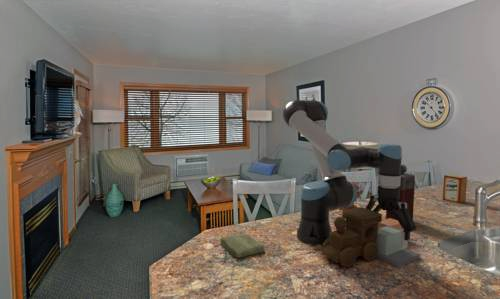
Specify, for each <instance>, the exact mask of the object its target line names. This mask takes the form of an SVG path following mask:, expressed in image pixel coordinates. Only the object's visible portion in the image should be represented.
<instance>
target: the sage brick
mask: <svg viewBox="0 0 500 299" xmlns="http://www.w3.org/2000/svg"><path fill="white" fill-rule="evenodd" d="M401 232H402V231H400V230H397V229H394V228H391V227H388V226H386V227H382V228H379V229H378V234H377V239H376V243H377V247H378V251H379V252H381V253H383V254H389V253H392V252H394V251H397V250H400V249H401Z"/></svg>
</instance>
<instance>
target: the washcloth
mask: <svg viewBox="0 0 500 299" xmlns="http://www.w3.org/2000/svg"><path fill="white" fill-rule="evenodd" d="M220 245H221V246H223V247H224V249H226V251H228V252H230V254H231V255H233V257H236V259H240V258H245V257H250V256H252V255H258V254H262V253H264V252H265V251H266V250H265V246H264V244H262V243H261V242H259V241H257V239H255V238H253V237H252V236H251V235H250V234H247V233H240V234H232V235H229V236H222V237H221V238H220Z"/></svg>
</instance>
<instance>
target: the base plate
mask: <svg viewBox="0 0 500 299" xmlns="http://www.w3.org/2000/svg"><path fill="white" fill-rule="evenodd" d="M375 258H377V259H379V260H381V259H382V260H381V261H383V260H384V262H386V263H388V264H390V263H391V265H392V264H393V265H392V266H394V265H395V266H394V267H396V266H397V268H400V267H402V265H403V266H405V265H406V264H409V262H410V263H411V262H413V261H414V262H415V261H416V260H418V259H421V254H420V253H418V252H417V251H413V250H411V249H407V248H405V249H400V250H397V251H394V252H392V253H389V254H383V253H381V252H379V251H378V253H377V255H376V257H375ZM404 264H405V265H404Z"/></svg>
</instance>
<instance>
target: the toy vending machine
mask: <svg viewBox="0 0 500 299" xmlns="http://www.w3.org/2000/svg"><path fill="white" fill-rule="evenodd" d="M407 171H408V169H407V166H406V165H405V164H401V180H400V186H399V188H400V197H399V201H400V202H402V203H405V202H407V203H408V209H409V212H410V214H411V217H412V219H413V220H414V206H415V205H414V204H415V187H416V186H415V184H416V183H415V182H416V175H415V174H412V173H406V172H407ZM399 209H400V210H401V208H400V206H399ZM395 211H396V210H395ZM401 214H402V215H403V213H402V211H401ZM403 217H404V216H403ZM389 218H391V219H395V220H397V218H396V217H395V215H394V214H392V212H388V211H387V210H385V219H389Z"/></svg>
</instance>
